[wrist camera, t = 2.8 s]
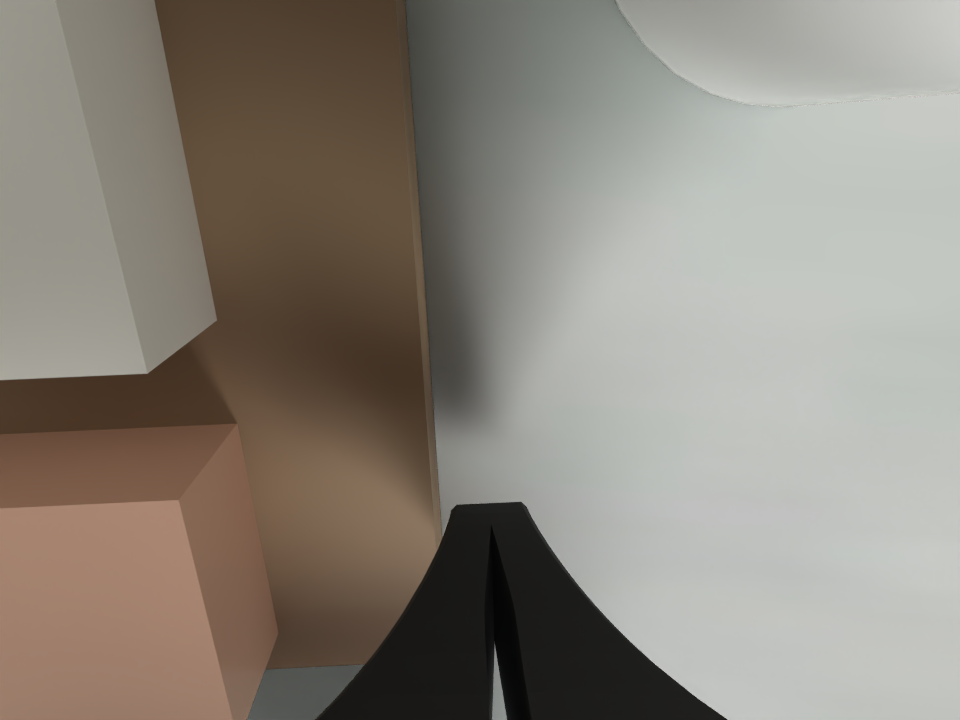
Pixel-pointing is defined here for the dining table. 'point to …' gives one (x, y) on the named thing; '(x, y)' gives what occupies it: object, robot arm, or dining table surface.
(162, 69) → the tile cream
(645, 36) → the pill bottle
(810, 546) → the dining table surface
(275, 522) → the board
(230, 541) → the tile terracotta
